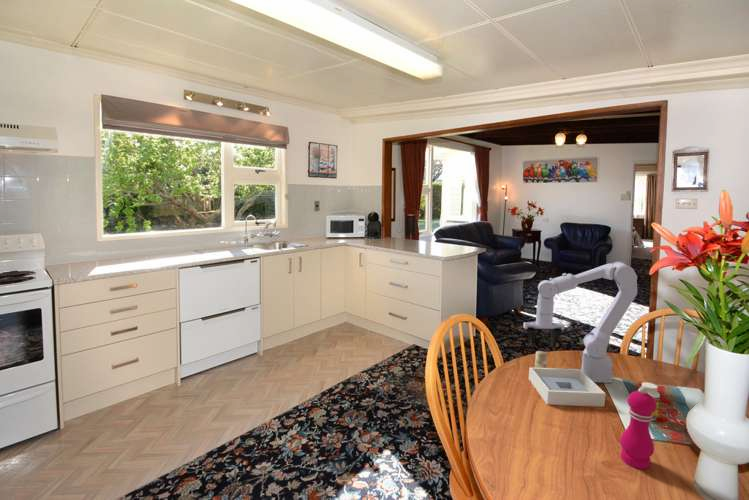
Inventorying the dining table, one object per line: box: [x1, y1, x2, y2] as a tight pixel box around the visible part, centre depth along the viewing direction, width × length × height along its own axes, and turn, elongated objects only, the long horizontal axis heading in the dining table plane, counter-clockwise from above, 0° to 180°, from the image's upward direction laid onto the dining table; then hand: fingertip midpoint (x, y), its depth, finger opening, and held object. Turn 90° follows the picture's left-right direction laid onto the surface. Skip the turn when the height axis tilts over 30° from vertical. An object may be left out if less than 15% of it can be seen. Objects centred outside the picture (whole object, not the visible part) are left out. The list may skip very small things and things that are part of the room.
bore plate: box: [541, 377, 589, 392], centre depth 138 cm, size 12×12×2 cm
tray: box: [528, 367, 607, 407], centre depth 139 cm, size 18×18×4 cm
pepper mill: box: [619, 386, 656, 470], centre depth 102 cm, size 7×7×20 cm
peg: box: [534, 350, 548, 368], centre depth 156 cm, size 4×4×7 cm
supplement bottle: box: [637, 381, 661, 422], centre depth 124 cm, size 6×6×10 cm
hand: (541, 346), depth 155 cm, fingers open, 7 cm apart
